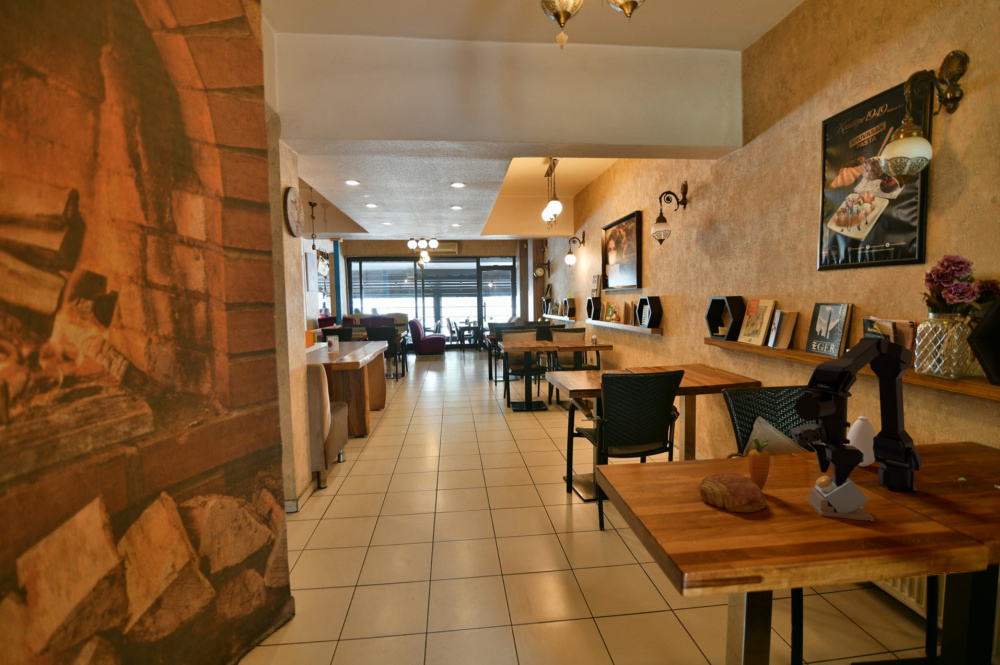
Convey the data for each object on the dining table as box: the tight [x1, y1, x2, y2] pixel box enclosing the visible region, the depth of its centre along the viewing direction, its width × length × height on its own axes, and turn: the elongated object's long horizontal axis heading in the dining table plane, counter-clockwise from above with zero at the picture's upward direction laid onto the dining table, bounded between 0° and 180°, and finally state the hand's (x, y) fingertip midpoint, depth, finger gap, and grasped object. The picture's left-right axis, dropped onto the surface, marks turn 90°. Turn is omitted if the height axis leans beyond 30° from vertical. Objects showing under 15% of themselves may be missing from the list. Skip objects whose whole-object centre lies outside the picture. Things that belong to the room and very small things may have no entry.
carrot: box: [748, 436, 771, 491], centre depth 123 cm, size 5×5×15 cm
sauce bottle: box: [846, 408, 878, 468], centre depth 143 cm, size 8×8×18 cm
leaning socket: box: [807, 473, 875, 522], centre depth 111 cm, size 11×9×9 cm
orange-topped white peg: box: [815, 475, 838, 494], centre depth 112 cm, size 3×3×7 cm
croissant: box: [698, 472, 767, 513], centre depth 117 cm, size 14×16×8 cm
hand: (830, 478), depth 112 cm, fingers open, 9 cm apart
